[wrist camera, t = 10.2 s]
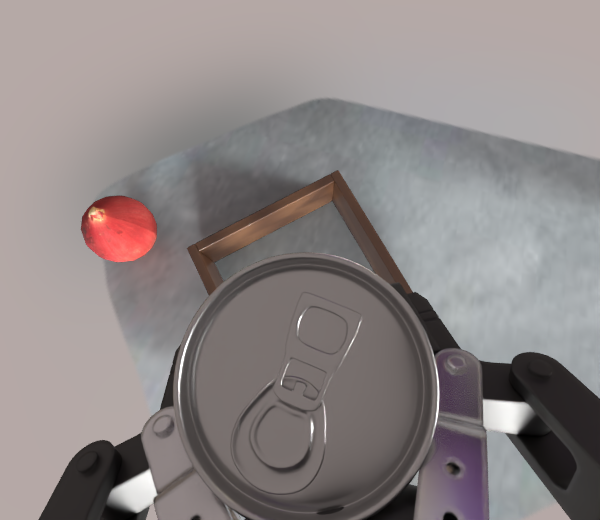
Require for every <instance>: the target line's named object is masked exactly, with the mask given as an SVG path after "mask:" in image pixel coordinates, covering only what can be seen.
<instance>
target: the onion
mask: <svg viewBox="0 0 600 520" xmlns="http://www.w3.org/2000/svg"><path fill="white" fill-rule="evenodd" d="M81 231H82V233H83V237H84V240H85V243H86V245H87V246H88V247H89V248H90V249H91V250H92V251H93V252H95V253H96V254H97V255H98V256H99V257H101V258H103V259H107V260H111V261H114V262H125V261H134V260H136V259H138V258H140V257H142V256H144V255H145V254H146V253H147V252H148V251H149V250H150V249H151V248H152V247H153V245H154V242H155V240H156V238H157V224H156V221H155V219H154V216H153V214H152V213H151V212H150V211H149V210H148V209H147V208H146V207H145V206H144V205H143V204H142V203H141V202H139V201H137V200H135V199H132V198H129V197H126V196H109V197H105V198H102V199H100V200H98V201H95V202H94V203H93V204H92V205H91V206H90V207H89V208H88V209H87V211H86V212H85V213H84V215H83V217H82V226H81Z"/></svg>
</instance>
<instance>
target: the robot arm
mask: <svg viewBox="0 0 600 520" xmlns="http://www.w3.org/2000/svg"><path fill="white" fill-rule="evenodd" d="M390 285H391V286H392V287H393V288H394V289H395V290H396V291H397V292H398V293H399V294H400V295H401V296H402V297H403V298H404V299H405V301H406V302H407V303H408V304H409V306H410V307H411V308H412V310H413V311H414V313H415V314H416V316H417V317H418V319H419V321H420V322H421V324H422V326H423V328H424V330H425V332H426V334H427V337H428V339H429V342H430V344H431V347H432V350H433V353H434V357H435V361H436V366H437V372H438V379H439V410H438V418H437V424H436V428H435V432H434V436H433V439H432V442H431V445H430V448H429V450H428V453H427V455H426V457H425V459H424V461H423V463H422V465H421V467H420V468H419V477H418V485H417V486H414V485H411V484H408V486H407V487H406V488H405V489H404V490H403V492H402V493H401V494H400V495H399V496H398V497H397V498H396V499H395V500H394V501H392V502H391V503H390V504H389V505H388V506H386V507H385V508H384V509H382V510H381V511H380V512H378V513H377V514H375V515H374V516H372V517H370V518H368V519H367V520H489V493H488V462H487V434H486V431H493V432H501V433H506V435H507V436H508V437H509V439H510V440H511V441H512V443H513V444H514V445H515V447H516V448H517V449H518V451H519V452H520V453H521V455H522V456H523V457H524V459H525V460H526V461H527V462H528V464H529V465H530V466H531V468H532V469H533V470H534V472H535V473H536V474H537V476H538V477H539V478H540V480H541V481H542V482H543V484H544V485H545V486H546V487H547V489H548V490H549V491H550V493H551V494H552V495H553V497H554V498H555V499H556V501H557V502H558V503H559V504H560V506H561V507H562V509H563V510H564V511H565V513H566V514H567V515H568V516H569V518H570V519H571V520H600V399H599V398H598V397H597V396H596V395H595V394H594V393H593V392H592V391H590V390H589V389H588V388H587V387H586V386H585V385H584V384H583V383H581V382H580V381H579V380H578V379H577V378H576V377H575V376H574V375H573V374H571V373H570V372H569V371H568V370H567V369H566V368H565V367H564V366H563V365H561V364H560V363H559V362H558V361H556V360H555V359H553V358H551V357H549V356H546V355H544V354H540V353H534V352H526V353H521V354H519V355H517V356H515V358H514V359H513V360H512V364H506V363H490V362H484V361H480V360H478V359H477V358H476V357H475V356H474V355H473V354H471V353H469V352H467V351H465V350H462V349H461V348H460V347H459V346H458V344H457V343H456V341H455V340H454V338H453V337H452V336H451V334H450V333H449V331H448V330H447V328H446V327H445V325H444V324H443V322H442V321H441V319H439V317H438V315H437V314H436V312H435V311H434V310H433V308H432V306H431V305H430V303H429V302H428V300H427V299H425V298H424V297H422V296H421V295H419V294H418V293H416V292H414V293H409V294H407V293H406V292H405V290H404V288H403V287H402V285H401V284H400V283H399V282H397V283H392V284H390ZM180 346H181V345H180ZM180 346H179V348H178V349H177V350H176V352H175V356H174V360H173V365H172V367H171V371H170V375H169V378H168V382H167V386H166V389H165V393H164V397H163V400H162V404H161V408H160V410H159V411H158V412H156V413H155V414H154V415H153V416H151V417H150V419H149V420H148V421H147V422H146V424H145V426H144V427H143V430H142V432H141V433H140V434H138V435H137V436H135V437H133V438H131V439H129V440H127V441H125V442H123V443H121V444H119V445H117V446H115V447H114V446H113V445H112V444H111V443H110V442H109V441H105V440H100V441H96V442H93V443H91V444H89V445H87V446H86V447H84V448H83V449H82V450H80V451H79V452H78V453H77V454H76V455H75V456H74V457H73V458H72V460H71V461H70V462H69V464H68V466H67V468H66V469H65V472H64V473H63V475H62V477H61V479H60V481H59V483H58V485H57V486H56V488H55V490H54V492H53V494H52V496H51V498H50V499H49V501H48V503H47V505H46V507H45V509H44V511H43V512H42V514H41V516H40V518H39V520H146V517H147V514H148V510H149V507H150V506H151V505H152V504H154V507H155V511H156V515H157V518H158V520H242V519H241V517H240V516H239V514H238V513H236V512H235V511H234V510H232V509H231V508H229V507H228V506H227V505H226V504H224V503H223V502H222V501H221V500H220V499H219V498H218V497H217V496H216V495H215V494H214V493H213V492H212V491H211V490H210V489H209V488H208V487H207V486H206V484H205V483H204V482H203V480H202V479H201V478H200V476H199V475H198V473H197V472H196V470H195V469H194V467H193V465H192V463H191V462H190V460H189V458H188V456H187V453H186V451H185V449H184V446H183V444H182V441H181V438H180V435H179V431H178V428H177V423H176V418H175V412H174V402H173V383H174V372H175V366H176V361H177V357H178V353H179V349H180ZM342 509H344V507H340V508H336V509H331V510H326V511H321V512H317V513H316V514H319V515H326V514H332V513H335V512H338V511H341V510H342ZM244 520H248V519H244Z"/></svg>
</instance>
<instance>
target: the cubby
mask: <svg viewBox="0 0 600 520" xmlns="http://www.w3.org/2000/svg"><path fill="white" fill-rule="evenodd" d="M331 201H333V203H334V204H335V206H336V208H337V209H338V211H339V213H340V214H341V216H342V218H343V220H344V221H345V223H346V225H347V226H348V228H349V230H350V231H351V233H352V235H353V236H354V238H355V240H356V241H357V243H358V245H359V247H360V248H361V250H362V252H363V253H364V255H365V257H366V258H367V260H368V262H369V263H370V265H371V267H372V268H373V270H374V272H375V273H376V274H377V275H378V276H379V277H381V278H382V279H383V280H385V281H386V282H387V283H388V284H392V283H397V282H399V283H400V284H401V285H402V287H403V288H404V290H405V292H406V293H407V294H409V293H413V292H412V290H411V288H410V287H409V285H408V283H407V282H406V280H405V278H404V277H403V275H402V274H401V272H400V270H399V269H398V267H397V265H396V264H395V262H394V260H393V259H392V257H391V256H390V254H389V252H388V251H387V249H386V247H385V246H384V244H383V243H382V241H381V239H380V238H379V236H378V234H377V233H376V231H375V229H374V228H373V226H372V225H371V223H370V221H369V220H368V218H367V216H366V215H365V213H364V211H363V210H362V208H361V207H360V205H359V203H358V202H357V200H356V198H355V197H354V195H353V194H352V192H351V190H350V189H349V187H348V185H347V184H346V182H345V180H344V179H343V177H342V176H341V174H340V172H339V171H338V170H337V171H335V172H333V173H331V174H329V175H327V176H325V177H324V178H322V179H320V180H318V181H316V182H314V183H312V184H310V185H308V186H306V187H304V188H302V189H300V190H298V191H296V192H294V193H292V194H290V195H289V196H287V197H285V198H283V199H281V200H279V201H277V202H275V203H273V204H271V205H269V206H267V207H265V208H263V209H261V210H259V211H257V212H256V213H254V214H252V215H250V216H248V217H246V218H244V219H242V220H240V221H238V222H236V223H234V224H232V225H230V226H228V227H226V228H224V229H222V230H221V231H219V232H217V233H215V234H213V235H211V236H209V237H207V238H205V239H203V240H201V241H199V242H197V243H196V244H193V245H191V246H189V247H188V248H187V249H188V251H189V254H190V256H191V258H192V260H193V262H194V264H195V266H196V269H197V271H198V273H199V275H200V277H201V279H202V281H203V284H204V286H205V288H206V290H207V292H208V294H209V296H210V295H211V294H212V293H213V292H214V290H215V289H217V288H218V287H219V286H220V285H221V284H222V283H223V282H224V281H223V279H222V277H221V275H220V273H219V271H218V269H217V267H216V265H215V263H214V262H216V261H218V260H220V259H222V258H223V257H225V256H227V255H229V254H231V253H233V252H235V251H237V250H239V249H241V248H243V247H245V246H247V245H248V244H250V243H252V242H254V241H256V240H258V239H260V238H262V237H264V236H266V235H268V234H270V233H272V232H273V231H275V230H277V229H279V228H281V227H283V226H285V225H287V224H289V223H291V222H293V221H295V220H297V219H298V218H300V217H302V216H304V215H306V214H308V213H310V212H312V211H314V210H316V209H318V208H320V207H322V206H323V205H325V204H327V203H329V202H331Z"/></svg>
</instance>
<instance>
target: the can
mask: <svg viewBox="0 0 600 520" xmlns="http://www.w3.org/2000/svg"><path fill="white" fill-rule="evenodd" d="M173 402H174V412H175V418H176V423H177V428H178V431H179V435H180V438H181V441H182V444H183V446H184V449H185V451H186V453H187V456H188V458H189V460H190V462H191V463H192V465H193V467H194V469H195V470H196V472H197V473H198V475H199V476H200V478H201V479H202V480H203V482H204V483H205V484H206V486H207V487H208V488H209V489H210V490H211V491H212V492H213V493H214V494H215V495H216V496H217V497H218V498H219V499H220V500H221V501H222V502H223V503H224V504H226V505H227V506H228V507H229V508H231V509H232V510H234V511H235V512H236V513H238V514H240V515H241V516H243V517H245V518H246V519H248V520H367V519H368V518H370V517H372V516H374V515H375V514H377V513H378V512H380V511H381V510H382V509H384V508H385V507H386V506H388V505H389V504H390V503H391V502H392V501H394V500H395V499H396V498H397V497H398V496H399V495H400V494H401V493H402V492H403V490H404V489H405V488H406V487H407V486H408V484H409V483H410V482H411V481H412V479H413V478H414V476H415V475H416V473H417V472H418V470H419V468H420V467H421V465H422V463H423V461H424V459H425V457H426V455H427V453H428V450H429V448H430V445H431V442H432V439H433V436H434V432H435V428H436V424H437V418H438V410H439V379H438V372H437V366H436V361H435V357H434V353H433V350H432V347H431V344H430V342H429V339H428V337H427V334H426V332H425V330H424V328H423V326H422V324H421V322H420V321H419V319H418V317H417V316H416V314H415V313H414V311H413V310H412V308H411V307H410V306H409V304H408V303H407V302H406V301H405V299H404V298H403V297H402V296H401V295H400V294H399V293H398V292H397V291H396V290H395V289H394V288H393V287H392V286H391V285H390V284H388V283H387V282H386V281H385V280H383V279H382V278H381V277H379V276H378V275H377V274H375V273H374V272H372V271H370V270H369V269H367V268H365V267H363V266H361V265H359V264H357V263H355V262H353V261H350V260H347V259H345V258H341V257H338V256H334V255H329V254H323V253H310V252H304V253H290V254H283V255H278V256H274V257H270V258H267V259H264V260H261V261H258V262H256V263H254V264H251V265H249V266H247V267H245V268H244V269H242V270H240V271H239V272H237V273H235V274H234V275H232V276H231V277H230V278H228V279H227V280H226V281H224V282H223V283H222V284H221V285H220V286H219V287H218V288H217V289H215V290H214V292H213V293H212V294H211V295H210V296H209V297H208V298H207V299H206V300H205V302H204V303H203V304H202V306H201V307H200V308H199V310H198V311H197V313H196V314H195V316H194V317H193V319H192V321H191V323H190V325H189V327H188V329H187V331H186V333H185V335H184V338H183V340H182V343H181V346H180V349H179V353H178V357H177V361H176V366H175V372H174V383H173ZM340 507H344V509H342V510H341V511H338V512H335V513H332V514H326V515H319V514H316V513H317V512H321V511H326V510H331V509H336V508H340Z"/></svg>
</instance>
